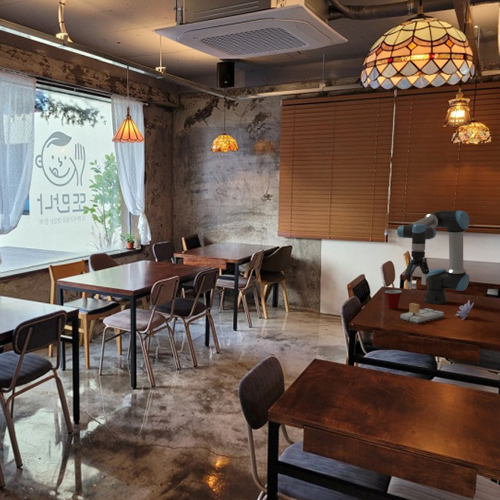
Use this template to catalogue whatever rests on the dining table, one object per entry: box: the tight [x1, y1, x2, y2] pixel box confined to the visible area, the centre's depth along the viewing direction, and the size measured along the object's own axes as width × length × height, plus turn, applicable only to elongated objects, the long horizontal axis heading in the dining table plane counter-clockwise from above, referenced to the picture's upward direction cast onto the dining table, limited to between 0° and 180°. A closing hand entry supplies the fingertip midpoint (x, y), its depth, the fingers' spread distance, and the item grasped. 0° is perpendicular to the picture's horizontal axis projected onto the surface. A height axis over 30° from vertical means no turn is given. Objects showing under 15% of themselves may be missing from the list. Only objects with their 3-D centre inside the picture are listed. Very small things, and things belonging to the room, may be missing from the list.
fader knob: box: [408, 302, 421, 316], centre depth 273 cm, size 5×3×9 cm, turn 34°
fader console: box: [399, 307, 445, 325], centre depth 278 cm, size 12×26×3 cm, turn 124°
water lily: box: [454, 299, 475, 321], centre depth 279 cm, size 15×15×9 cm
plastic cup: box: [384, 289, 402, 310], centre depth 302 cm, size 11×11×12 cm
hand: (416, 286), depth 271 cm, fingers open, 13 cm apart
